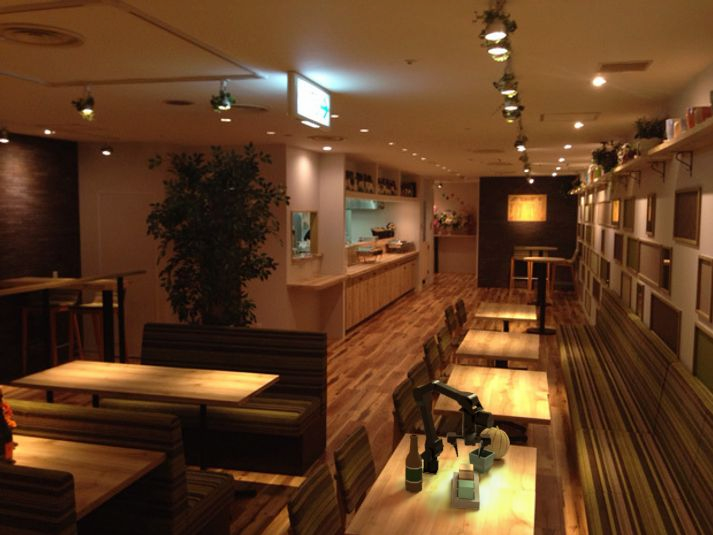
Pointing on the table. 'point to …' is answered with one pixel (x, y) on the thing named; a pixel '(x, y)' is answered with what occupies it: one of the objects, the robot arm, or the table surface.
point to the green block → (465, 489)
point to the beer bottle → (413, 467)
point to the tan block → (466, 476)
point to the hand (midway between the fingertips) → (468, 457)
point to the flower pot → (481, 460)
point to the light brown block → (465, 467)
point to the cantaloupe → (497, 442)
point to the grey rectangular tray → (465, 502)
